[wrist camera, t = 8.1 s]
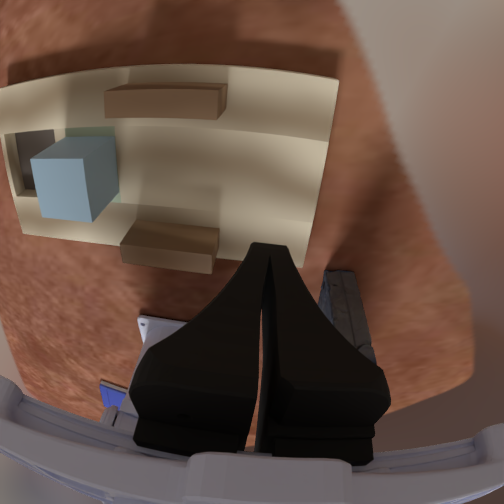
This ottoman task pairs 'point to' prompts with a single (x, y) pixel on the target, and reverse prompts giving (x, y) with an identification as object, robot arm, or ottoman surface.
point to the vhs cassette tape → (346, 309)
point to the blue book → (112, 394)
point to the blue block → (76, 177)
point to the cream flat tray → (181, 157)
